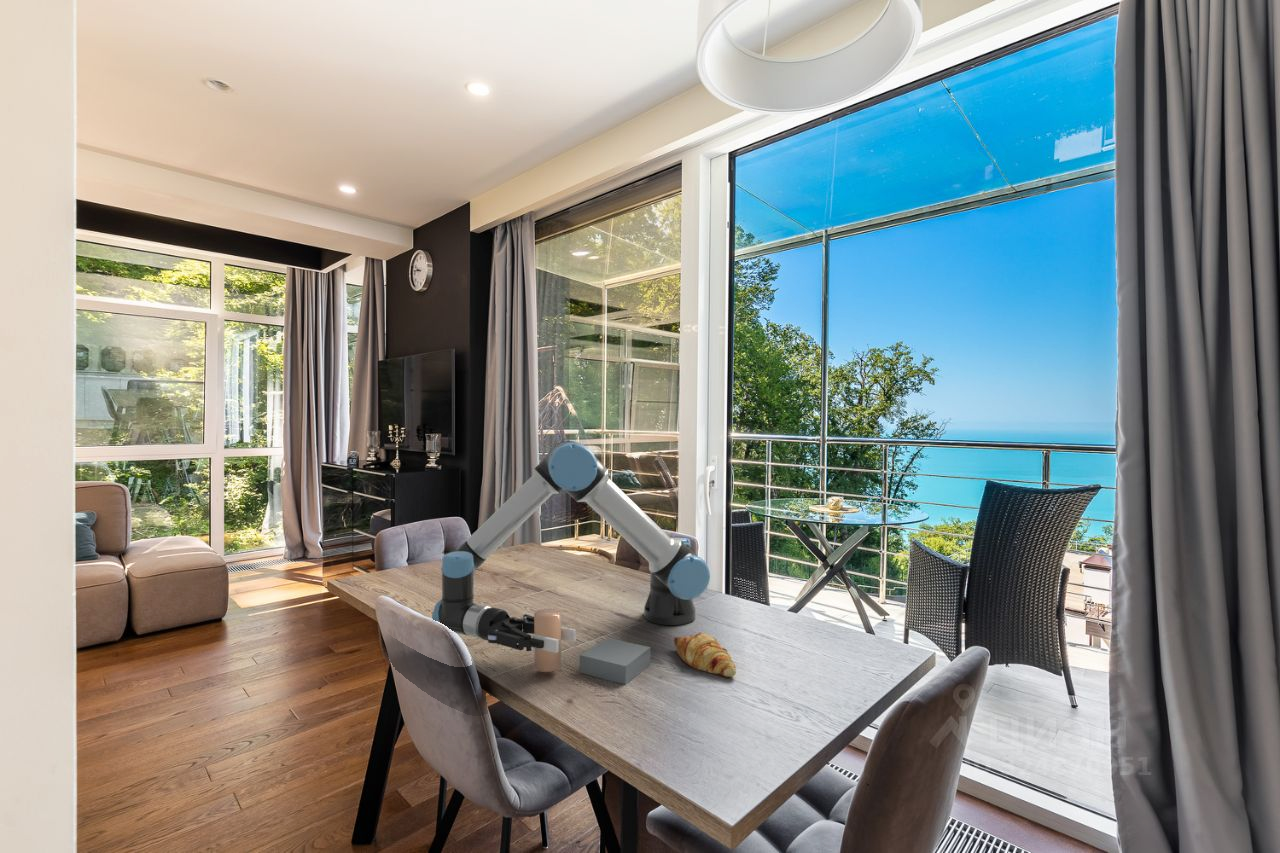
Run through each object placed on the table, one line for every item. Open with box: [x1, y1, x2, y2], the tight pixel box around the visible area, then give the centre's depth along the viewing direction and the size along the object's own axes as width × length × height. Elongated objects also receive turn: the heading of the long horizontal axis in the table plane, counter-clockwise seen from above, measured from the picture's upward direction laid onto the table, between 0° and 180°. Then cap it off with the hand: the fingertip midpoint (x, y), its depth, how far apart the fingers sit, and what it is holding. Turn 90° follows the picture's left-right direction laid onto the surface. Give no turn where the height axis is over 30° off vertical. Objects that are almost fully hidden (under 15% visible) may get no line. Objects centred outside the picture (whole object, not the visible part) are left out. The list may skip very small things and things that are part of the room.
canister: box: [533, 608, 562, 673], centre depth 131 cm, size 6×6×12 cm
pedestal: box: [579, 637, 652, 685], centre depth 134 cm, size 12×12×4 cm
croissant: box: [673, 632, 737, 678], centre depth 137 cm, size 21×10×8 cm, turn 36°
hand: (566, 640), depth 128 cm, fingers closed on canister, 6 cm apart
